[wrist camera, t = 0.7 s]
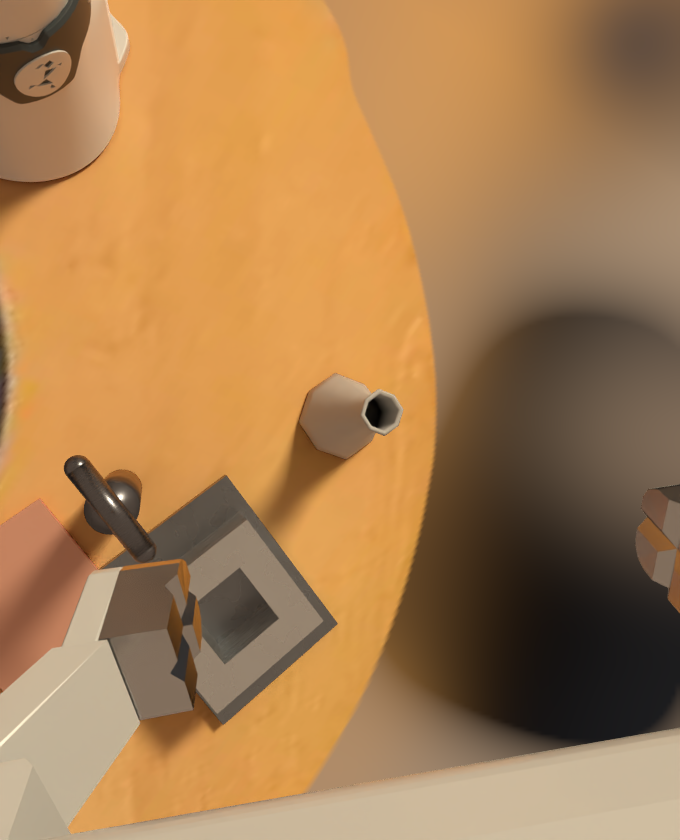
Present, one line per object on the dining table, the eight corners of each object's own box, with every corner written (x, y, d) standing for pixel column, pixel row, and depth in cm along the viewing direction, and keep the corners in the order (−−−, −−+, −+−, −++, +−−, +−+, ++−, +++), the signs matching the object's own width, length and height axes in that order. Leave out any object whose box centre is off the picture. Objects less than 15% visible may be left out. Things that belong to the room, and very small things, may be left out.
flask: (347, 473, 52) (391, 482, 43) (283, 423, 51) (314, 421, 41) (392, 409, 54) (445, 403, 44) (332, 358, 52) (373, 341, 43)
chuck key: (74, 462, 45) (43, 475, 32) (108, 439, 46) (92, 441, 33) (134, 537, 47) (129, 580, 33) (166, 513, 47) (174, 545, 34)
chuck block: (98, 569, 46) (91, 586, 41) (224, 474, 49) (234, 479, 44) (221, 719, 48) (230, 753, 43) (334, 620, 52) (355, 641, 46)
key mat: (-87, 585, 42) (-90, 587, 41) (40, 498, 45) (38, 499, 44) (41, 728, 44) (39, 732, 44) (154, 637, 47) (154, 639, 46)
